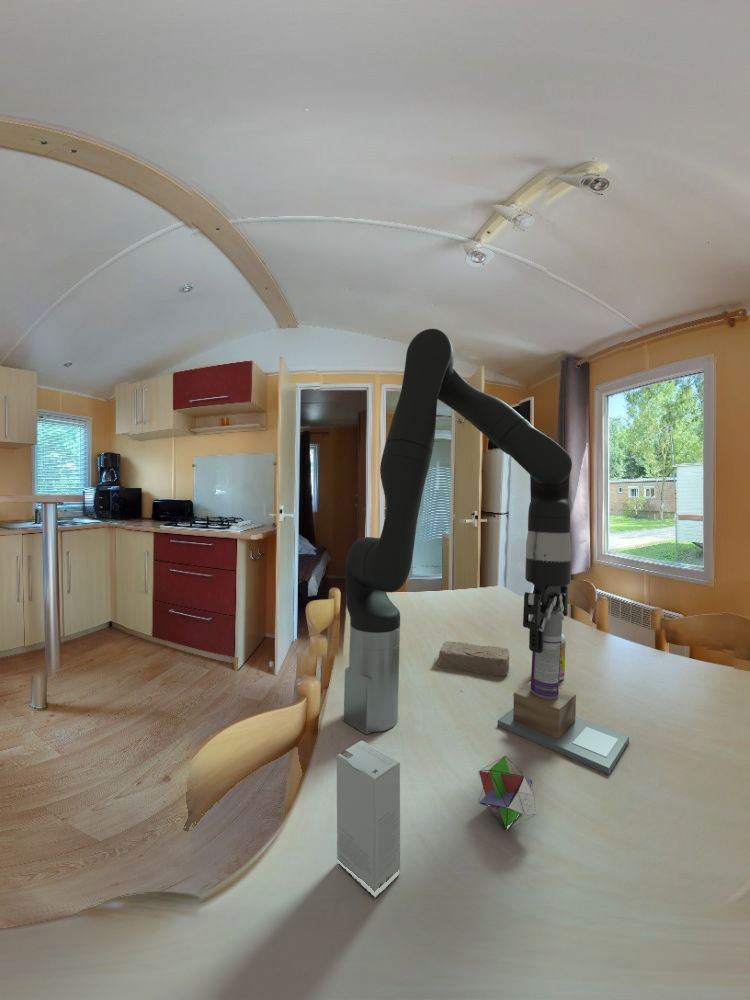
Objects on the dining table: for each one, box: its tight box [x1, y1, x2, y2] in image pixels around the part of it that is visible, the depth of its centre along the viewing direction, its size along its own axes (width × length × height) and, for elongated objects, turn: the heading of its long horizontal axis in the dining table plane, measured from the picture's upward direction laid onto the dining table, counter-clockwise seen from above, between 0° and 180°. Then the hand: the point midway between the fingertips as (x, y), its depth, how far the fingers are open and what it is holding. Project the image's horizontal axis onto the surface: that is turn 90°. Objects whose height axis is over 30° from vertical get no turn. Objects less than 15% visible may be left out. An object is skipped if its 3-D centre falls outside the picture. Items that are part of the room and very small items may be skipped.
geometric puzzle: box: [477, 754, 537, 831], centre depth 51 cm, size 7×7×8 cm
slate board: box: [497, 708, 630, 775], centre depth 71 cm, size 12×18×1 cm, turn 45°
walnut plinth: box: [512, 680, 577, 739], centre depth 73 cm, size 8×8×5 cm
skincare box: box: [336, 740, 401, 892], centre depth 44 cm, size 6×4×12 cm
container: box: [530, 610, 563, 699], centre depth 73 cm, size 5×5×15 cm
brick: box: [437, 640, 510, 676], centre depth 100 cm, size 16×8×5 cm, turn 70°
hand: (545, 645), depth 73 cm, fingers open, 8 cm apart
